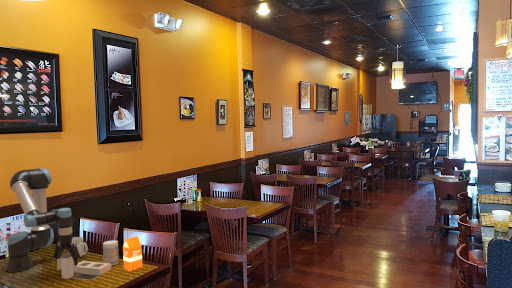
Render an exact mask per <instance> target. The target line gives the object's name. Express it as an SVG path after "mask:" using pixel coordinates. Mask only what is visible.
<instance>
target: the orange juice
mask: <svg viewBox="0 0 512 288" xmlns="http://www.w3.org/2000/svg"><path fill="white" fill-rule="evenodd" d="M122 253H123V257H122V258H123V270H125V269H126V270H125V271H127V270H128V271H127V272H129V271H131V272H133V271H132V270H134V271H136V270H135V269H137V268H140V267H142V268H143V249H142V244H141V241H140V238H139V236H138V235H136V236H132V237H128V238H125V240H124V243H123V246H122ZM137 270H138V269H137Z"/></svg>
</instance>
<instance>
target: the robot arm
mask: <svg viewBox="0 0 512 288" xmlns="http://www.w3.org/2000/svg"><path fill="white" fill-rule="evenodd" d="M51 184H52V175H51V172H50V171H49V169H48V168H45V167H44V168H42V167H41V168H40V167H39V168H30V169H20V170H18V171H16V172H15V173H14V174H13V175H12V176H11V179H10V181H9V188H10V190H11V191H12V192H13V193H14V194H15V196H16V198H17V200H18V202H19V205H20V207H21V209H22V211H23V213H24V217H23V225H24V226H25V228H27V229H28V228H29V229H30V232H28V231H27V230H23V231H18V232H15V233H12V234H10V235H9V236H7V243H6V245H7V256H8V257H7V263H6V266H5V272H6V271H10V272H9V273H19V271H20V272H24V271H28V270H30V269H31V268H33V266H34V264H33V261H32V258H31V256H30V251H33V250H37V249H38V250H39V249H41V248H46V247H50V246H51V245H52V244H53V242H54V239H55V234H54V229H53V228H51V226H50V225H52V224H56V223H57V229H58V231H57V232H58V241H56V242H55V247H54V252H53V258H55V259H56V260H55V261H56V265H57V270H58V271H59V270H62V269H61V255H63V253H64V250H66V251H67V250H68V251H69V253H70V254H71V256H72V258H73V260H72V262H73V271H76V270H77V265H78V263H79V262H78V261H79V259H81V258H80V254H79V251H78V249H77V243H76V242H75V243H72V239H73V237H74V236H73V222H72V221H73V220H72V219H73V218H72V215H73V214H72V209H71V208H70V207H61V208H59V209H58V208H57V209H52V210H51V211H48V210H47V209H48V207H47V190H48V189H49V186H50V185H51Z"/></svg>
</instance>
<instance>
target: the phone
mask: <svg viewBox="0 0 512 288" xmlns="http://www.w3.org/2000/svg"><path fill="white" fill-rule="evenodd" d="M100 276H101V275H91V274H81V273H80V274H79V275H76V276H74V277H73V279H74V280H82V281H93V280H95V279H97V278H99V277H100Z"/></svg>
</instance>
